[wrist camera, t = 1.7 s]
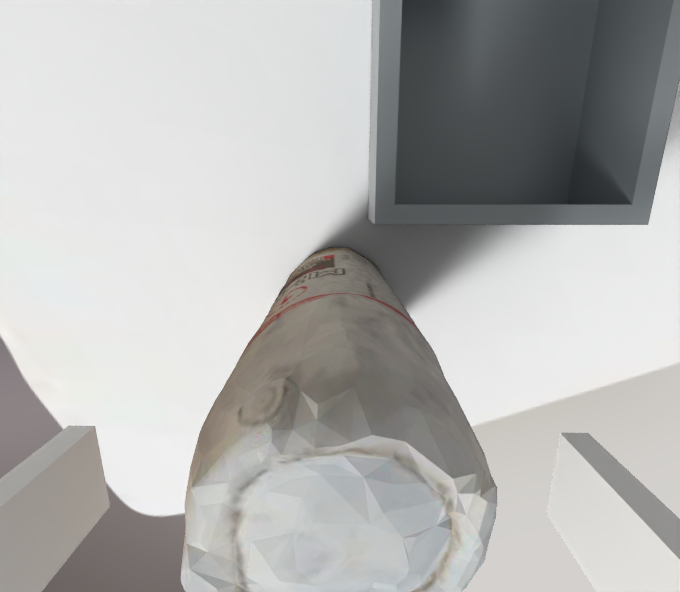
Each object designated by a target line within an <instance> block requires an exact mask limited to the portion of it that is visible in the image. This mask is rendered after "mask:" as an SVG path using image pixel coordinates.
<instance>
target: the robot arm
mask: <svg viewBox="0 0 680 592" xmlns="http://www.w3.org/2000/svg"><path fill="white" fill-rule="evenodd" d="M109 507H110V503H109V498H108V493H107V487H106V482H105V477H104V471H103V466H102V461H101V456H100V450H99V445H98V440H97V434H96V429H95V426H68V427H67V428H65V429H64V430H63V431H61V432H60V433H59V434H58V435H56V436H55V437H54V438H53V439H51V440H50V441H49V442H47V443H46V444H45V445H43V446H42V447H41V448H40V449H38V450H37V451H36V452H34V453H33V454H32V455H31V456H29V457H28V458H27V459H25V460H24V461H23V462H22V463H20V464H19V465H18V466H16V467H15V468H14V469H12V470H11V471H10V472H9V473H7V474H6V475H5V476H3V477H2V478H1V479H0V592H42V590H43V589H44V588H45V587H46V585H47V584H48V583H49V582H50V580H51V579H52V578H53V577H54V575H55V574H56V573H57V572H58V570H59V569H60V568H61V567H62V565H63V564H64V563H65V562H66V560H67V559H68V558H69V557H70V555H71V554H72V553H73V551H74V550H75V549H76V548H77V546H78V545H79V544H80V543H81V541H82V540H83V539H84V538H85V536H86V535H87V534H88V533H89V532H90V530H91V529H92V528H93V527H94V525H95V524H96V523H97V522H98V520H99V519H100V518H101V517H102V515H103V514H104V513H105V512H106V510H107V509H108V508H109ZM546 515H547V516H548V518H549V520H550V521H551V523H552V524H553V526H554V527H555V529H556V530H557V532H558V533H559V535H560V537H561V538H562V540H563V541H564V543H565V544H566V546H567V547H568V549H569V550H570V552H571V554H572V555H573V557H574V558H575V560H576V561H577V563H578V564H579V566H580V567H581V569H582V570H583V572H584V573H585V575H586V577H587V578H588V580H589V581H590V583H591V585H592V586H593V587H594V589H595V591H596V592H680V519H679V518H678V517H677V516H676V515H675V514H674V513H673V512H672V511H671V510H670V509H668V508H667V507H666V506H665V505H664V504H663V503H662V502H661V501H660V500H659V499H658V498H657V497H656V496H655V495H654V494H652V493H651V492H650V491H649V490H648V489H647V488H646V487H645V486H644V485H643V484H642V483H640V482H639V480H638V479H636V478H635V477H634V476H633V475H632V474H631V473H630V472H629V471H628V470H627V469H626V468H625V467H624V466H623V465H622V464H620V463H619V462H618V461H617V460H616V459H615V458H614V457H613V456H612V455H611V454H610V453H609V452H608V451H607V450H606V449H604V448H603V447H602V446H601V445H600V444H599V443H598V442H597V441H596V440H595V439H594V438H593V437H592V436H591V435H590V434H588V433H560V436H559V442H558V448H557V454H556V460H555V465H554V471H553V477H552V483H551V489H550V495H549V501H548V506H547V512H546Z"/></svg>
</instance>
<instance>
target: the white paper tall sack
mask: <svg viewBox="0 0 680 592" xmlns="http://www.w3.org/2000/svg"><path fill="white" fill-rule="evenodd" d="M496 507H497V487H496V485H495V483H494V480H493V478H492V476H491V474H490V471H489V468H488V464H487V461H486V458H485V455H484V452H483V450H482V448H481V446H480V444H479V442H478V440H477V438H476V436H475V434H474V432H473V430H472V428H471V426H470V424H469V422H468V420H467V418H466V416H465V414H464V412H463V410H462V408H461V406H460V404H459V402H458V400H457V398H456V397H455V395H454V393H453V391H452V390H451V388H450V386H449V384H448V383H447V381H446V379H445V377H444V375H443V372H442V369H441V367H440V364H439V362H438V360H437V357H436V355H435V353H434V351H433V350H432V348H431V346H430V345H429V343H428V342H427V341H426V339H425V338H424V336H423V335H422V334H421V332H420V331H419V329H418V328H417V326H416V325H415V323H414V321H413V320H412V319H411V317H410V315H409V314H408V312H407V311H406V309H405V308H404V307H403V305H402V304H401V302H400V301H399V299H398V298H397V296H396V295H395V293H394V292H393V290H392V289H391V287H390V286H389V284H388V283H387V282H386V281H385V279H384V278H383V276H382V275H381V273H380V272H379V269H378V268H377V267H376V266H375V264H374V263H372V262H370V261H369V260H368V259H366V258H364V256H362V255H359V254H358V253H356V252H355V251H353V250H352V249H350V248H342V247H338V248H334V247H330V248H328V249H325V250H323V251H320V252H318V253H315V254H313V255H311V256H309V257H308V258H307V259H306V260H305V261H304V262H303V263H302V264H301V265H300V266H299V267H298V268H297V269H296V270H295V271H294V272H293V273H292V274H291V275H290V276H289V278H288V280H287V282H286V284H285V286H284V287H283V288H282V290H281V291H280V293H279V295H278V297H277V298H276V300H275V302H274V304H273V306H272V307H271V309H270V311H269V314H268V315H267V316H266V318H265V320H264V322H263V323H262V325H261V327H260V328H259V329H258V331H257V332H256V333H255V335H254V336H253V338H252V339H251V340H250V342H249V343H248V345H247V347H246V348H245V350H244V352H243V354H242V355H241V357H240V359H239V361H238V363H237V365H236V367H235V368H234V370H233V372H232V374H231V375H230V377H229V379H228V380H227V382H226V384H225V386H224V388H223V389H222V391H221V392H220V394H219V395H218V397H217V399H216V400H215V402H214V404H213V406H212V408H211V410H210V412H209V414H208V416H207V418H206V420H205V422H204V424H203V427H202V429H201V431H200V434H199V438H198V441H197V445H196V449H195V452H194V456H193V460H192V464H191V468H190V474H189V480H188V486H187V492H186V500H185V520H186V532H185V541H184V550H183V560H182V569H181V583H182V585H183V587H184V590H185V591H186V592H461V591H463V590H464V589H465V588H466V587H467V585H468V583H469V582H470V580H471V579H472V577H473V576H474V575H475V573H476V572H477V570H478V569H479V568H480V566H481V565H482V563H483V562H484V560H485V556H486V551H487V547H488V543H489V539H490V536H491V531H492V529H493V525H494V522H495V518H496Z"/></svg>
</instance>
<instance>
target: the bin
mask: <svg viewBox="0 0 680 592" xmlns="http://www.w3.org/2000/svg"><path fill="white" fill-rule="evenodd" d="M679 79H680V0H372V41H371V93H370V145H369V197H368V220H370V221H371V222H372V223H373V224H405V225H648V222H649V218H650V213H651V208H652V204H653V199H654V195H655V190H656V185H657V181H658V176H659V171H660V167H661V162H662V158H663V153H664V148H665V144H666V139H667V134H668V130H669V125H670V121H671V116H672V111H673V107H674V102H675V97H676V93H677V88H678V84H679Z"/></svg>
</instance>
